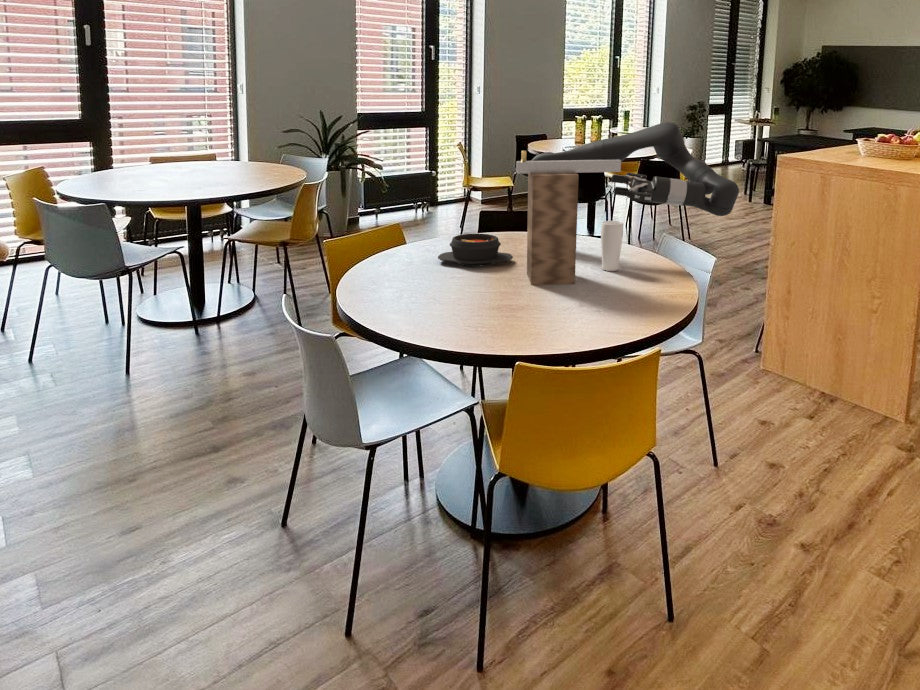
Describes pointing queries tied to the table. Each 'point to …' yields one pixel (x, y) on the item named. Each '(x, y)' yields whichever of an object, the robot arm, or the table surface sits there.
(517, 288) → the table surface
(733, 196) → the robot arm
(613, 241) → the white tapered cylinder
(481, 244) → the casserole
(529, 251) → the pedestal
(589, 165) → the bar
